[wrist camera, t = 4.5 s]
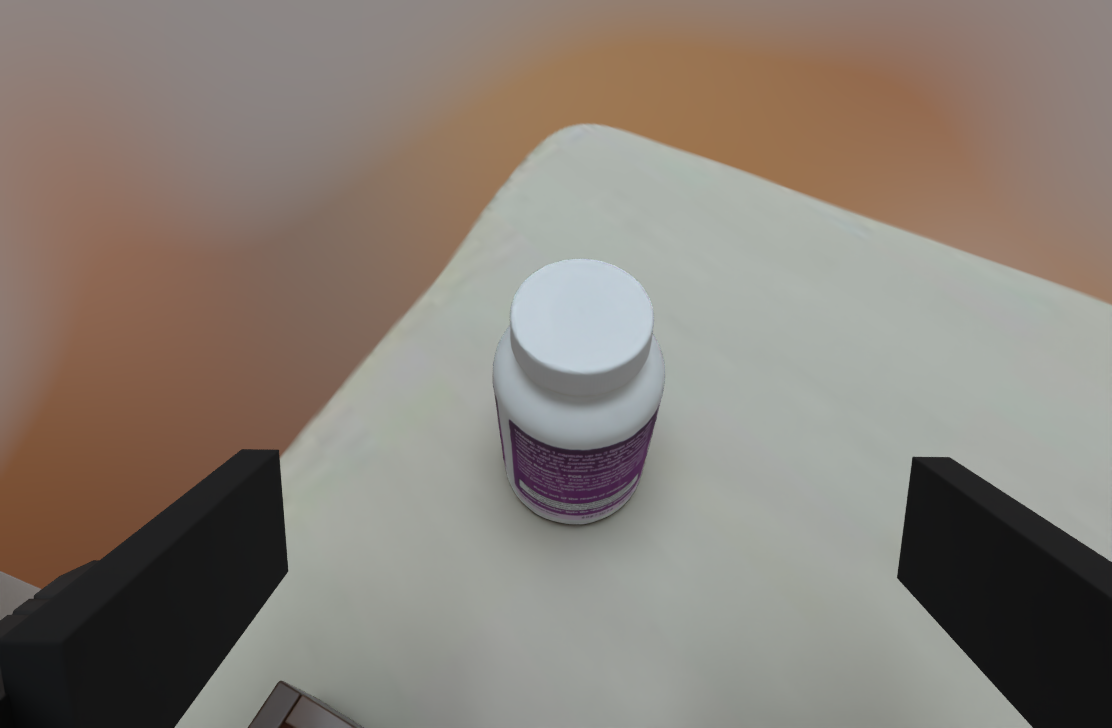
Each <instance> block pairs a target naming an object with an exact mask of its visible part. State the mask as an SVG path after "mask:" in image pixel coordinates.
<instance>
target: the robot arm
mask: <svg viewBox="0 0 1112 728" xmlns="http://www.w3.org/2000/svg"><path fill="white" fill-rule="evenodd" d="M287 572H288V561H287V549H286V536H285V523H284V510H283V497H282V485H281V472H280V459H279V450H251V449H248V450H247V449H242V450H240V451H239V452H238V453H237V454H235V455H234V456H233V457H231V458H230V459H229V460H228V461H226V462H225V463H224V464H223V465H221V466H220V467H219V468H217V469H216V470H215V471H213V472H212V473H211V474H210V475H208V476H207V477H206V478H205V479H203V480H202V481H201V482H199V483H198V484H197V485H196V486H195V487H193V488H192V489H190V490H189V491H188V492H187V493H185V494H184V495H183V496H182V497H180V498H179V499H178V500H176V501H175V502H174V503H173V504H171V505H170V506H169V507H168V508H166V509H165V510H164V511H162V512H161V513H160V514H159V515H157V516H156V517H155V518H154V519H152V520H151V521H150V522H148V523H147V524H146V525H144V526H143V527H142V528H141V529H139V530H138V531H137V532H135V533H134V534H133V535H132V536H130V537H129V538H128V539H126V540H125V541H124V542H123V543H121V544H120V545H119V546H118V547H116V548H115V549H114V550H112V551H111V552H110V553H109V554H107V555H106V556H105V557H103V558H102V559H101V560H100V561H96V560H94V561H91V562H89V563H87V564H85V565H83V566H80V567H78V568H76V569H74V570H72V571H70V572H68V573H66V574H63V575H61V576H59V577H58V578H56V579H55V580H54V581H52V582H51V583H50V584H48V586H46V587H44V588H43V589H42V590H40V591H39V592H38V593H36V594H35V595H34V599H28V600H27V601H26V602H24V603H23V604H22V605H20V606H19V607H18V608H16V609H15V610H14V611H13V614H12V615H7V616H6V617H4V618H3V619H2V620H0V728H174V727H175V726H176V724H177V723H178V722H179V720H180V719H181V718H182V716H183V715H184V714H185V712H186V711H187V709H188V708H189V707H190V705H191V704H192V703H193V701H194V700H195V698H196V697H197V696H198V694H199V693H200V692H201V690H202V689H203V687H204V686H205V685H206V683H207V682H208V681H209V679H210V678H211V676H212V675H213V674H214V672H215V671H216V670H217V668H218V667H219V666H220V664H221V663H222V661H223V660H224V659H225V657H226V656H227V655H228V653H229V652H230V650H231V649H232V648H233V646H234V645H235V644H236V642H237V641H238V639H239V638H240V637H241V635H242V634H243V633H244V631H245V630H246V629H247V627H248V626H249V624H250V623H251V622H252V620H253V619H254V618H255V616H256V615H257V613H258V612H259V611H260V609H261V608H262V607H263V605H264V604H265V602H266V601H267V600H268V598H269V597H270V596H271V594H272V593H273V592H274V590H275V589H276V587H277V586H278V585H279V583H280V582H281V581H282V579H283V578H284V576H285V575H286V574H287ZM897 578H898V579H899V581H900V582H901V583H902V584H903V585H904V586H905V587H906V588H907V589H908V590H909V592H910V593H911V594H912V595H913V596H914V597H915V598H916V599H917V600H918V601H919V603H920V604H921V605H922V606H923V607H924V608H925V609H926V610H927V611H928V613H929V614H930V615H931V616H932V617H933V618H934V619H935V620H936V621H937V622H938V624H939V625H940V626H941V627H942V628H943V629H944V630H945V631H946V632H947V633H948V635H949V636H950V637H951V638H952V639H953V640H954V641H955V642H956V643H957V644H958V646H959V647H960V648H961V649H962V650H963V651H964V652H965V653H966V654H967V655H968V657H969V658H970V659H971V660H972V661H973V662H974V663H975V664H976V665H977V666H978V668H979V669H980V670H981V671H982V672H983V673H984V674H985V675H986V676H987V677H988V679H989V680H990V681H991V682H992V683H993V684H994V685H995V686H996V687H997V689H998V690H999V691H1000V692H1001V693H1002V694H1003V695H1004V696H1005V697H1006V698H1007V700H1008V701H1009V702H1010V703H1011V704H1012V705H1013V706H1014V707H1015V708H1016V709H1017V711H1018V712H1019V713H1020V714H1021V715H1022V716H1023V717H1024V718H1025V719H1026V720H1027V722H1028V723H1029V724H1030V725H1031V726H1032V727H1033V728H1112V562H1111V561H1109V560H1107V559H1106V558H1104V557H1103V556H1101V555H1100V554H1098V553H1097V552H1095V551H1094V550H1092V549H1090V548H1089V547H1087V546H1086V545H1084V544H1083V543H1081V542H1080V541H1078V540H1077V539H1075V538H1073V537H1072V536H1070V535H1069V534H1067V533H1066V532H1064V531H1063V530H1061V529H1060V528H1058V527H1056V526H1055V525H1053V524H1052V523H1050V522H1049V521H1047V520H1046V519H1044V518H1043V517H1041V516H1039V515H1038V514H1036V513H1035V512H1033V511H1032V510H1030V509H1029V508H1027V507H1026V506H1024V505H1022V504H1021V503H1019V502H1018V501H1016V500H1015V499H1013V498H1012V497H1010V496H1009V495H1007V494H1005V493H1004V492H1002V491H1001V490H999V489H998V488H996V487H995V486H993V485H992V484H990V483H988V482H987V481H985V480H984V479H982V478H981V477H979V476H978V475H976V474H975V473H973V472H971V471H970V470H968V469H967V468H965V467H964V466H962V465H961V464H959V463H958V462H956V461H954V460H953V459H951V458H950V457H913V458H912V466H911V474H910V481H909V489H908V497H907V505H906V513H905V520H904V528H903V536H902V544H901V552H900V559H899V567H898V575H897Z"/></svg>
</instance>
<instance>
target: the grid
mask: <svg viewBox="0 0 1112 728" xmlns="http://www.w3.org/2000/svg"><path fill="white" fill-rule="evenodd" d="M248 728H364V727H362V726H361V725H359V724H358V723H356V722H354V721H353V720H351V719H350V718H348V717H346V716H345V715H343V714H342V713H340V712H338V711H337V710H335V709H334V708H332V707H330V706H329V705H327V704H325V703H324V702H322V701H321V700H319V699H317V698H316V697H314V696H312V695H310V694H308V693H306V692H304V691H302V690H300V689H298V688H296V687H294V686H292V685H290V684H288V683H286V682H284V681H279V682H278V683H277V685H276V686H275V688H274V689H273V691H272V692H271V694H270V695H269V697H268V698H267V700H266V701H265V703H264V704H263V706H262V707H261V709H260V710H259V712H258V713H257V715H256V716H255V718H254V719H253V721H252V722H251V724H250V725H249V727H248Z"/></svg>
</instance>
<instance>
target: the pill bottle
mask: <svg viewBox="0 0 1112 728" xmlns="http://www.w3.org/2000/svg"><path fill="white" fill-rule="evenodd" d="M653 325H654V312H653V307H652V303H651V301H650V298H649V296H648V295H647V293H646V291H645V289H644V288H643V286H642V285H641V284H640V283H639V282H638V281H637V280H636V279H635V278H634V277H633V276H632V275H630V274H629V273H627V272H626V271H624V270H623V269H621V268H619V267H616V266H614V265H612V264H609V263H606V262H602V261H599V260H592V259H568V260H562V261H558V262H556V263H552V264H549V265H546V266H544V267H542V268H541V269H539V270H537V271H535V272H534V273H533V274H532V275H530V276H529V277H528V278H527V279H526V280H525V281H524V282H523V283H522V285H521V286H520V287H519V289H518V290H517V292H516V294H515V296H514V298H513V301H512V304H511V310H510V326H509V327H508V328H507V329H506V331H505V332H504V334H503V336H502V337H501V339H500V341H499V344H498V346H497V349H496V353H495V357H494V362H493V388H494V393H495V400H496V408H497V416H498V422H499V430H500V437H501V443H502V450H503V459H504V462H505V468H506V473H507V477H508V480H509V482H510V484H511V486H512V489H513V491H514V492H515V494H516V495H517V497H518V498H519V499H520V500H521V501H522V502H523V503H524V504H525V505H526V506H527V507H528V508H529V509H531V510H532V511H533V512H535V513H536V514H537V515H539V516H542V517H544V518H546V519H549V520H552V521H555V522H560V523H566V524H587V523H591V522H594V521H597V520H600V519H602V518H605V517H607V516H609V515H611V514H613V513H614V512H616V511H617V510H618V509H620V508H621V507H622V506H623V505H624V504H625V503H626V502H627V501H628V500H629V499H630V497H631V496H632V494H633V493H634V491H635V490H636V488H637V486H638V483H639V480H640V477H641V474H642V471H643V467H644V463H645V459H646V456H647V452H648V449H649V445H650V442H651V438H652V435H653V429H654V425H655V422H656V418H657V414H658V410H659V406H660V402H661V398H662V394H663V389H664V383H665V364H664V358H663V354H662V351H661V348H660V346H659V343H658V341H657V339H656V338H655V336H654V334H653Z"/></svg>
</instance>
